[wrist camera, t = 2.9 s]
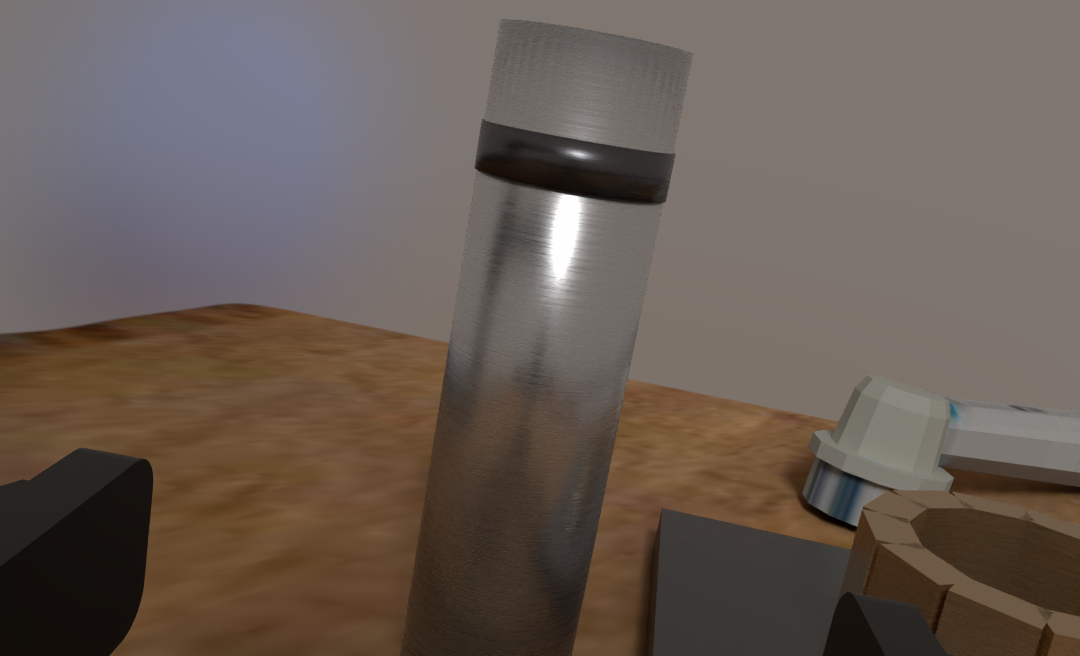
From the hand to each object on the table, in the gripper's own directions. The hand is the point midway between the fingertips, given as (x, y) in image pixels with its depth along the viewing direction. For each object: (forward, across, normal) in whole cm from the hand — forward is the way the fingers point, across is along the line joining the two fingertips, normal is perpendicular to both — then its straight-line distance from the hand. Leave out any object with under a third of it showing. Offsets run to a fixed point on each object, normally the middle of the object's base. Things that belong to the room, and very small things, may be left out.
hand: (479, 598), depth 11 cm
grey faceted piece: (+35, -22, +10) cm, 43 cm away
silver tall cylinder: (+11, 0, +9) cm, 14 cm away
